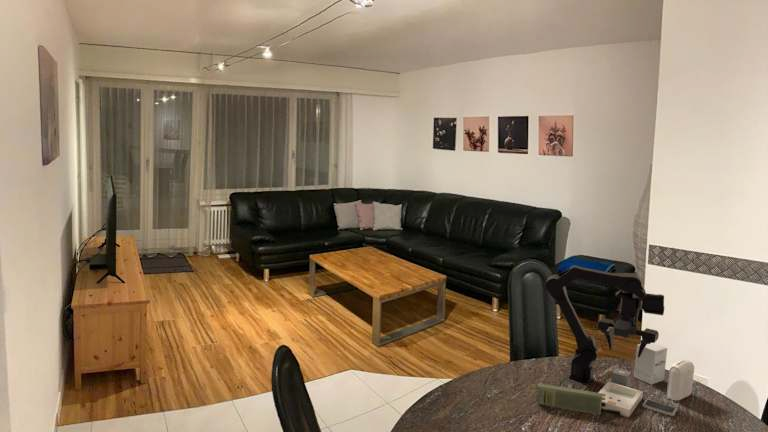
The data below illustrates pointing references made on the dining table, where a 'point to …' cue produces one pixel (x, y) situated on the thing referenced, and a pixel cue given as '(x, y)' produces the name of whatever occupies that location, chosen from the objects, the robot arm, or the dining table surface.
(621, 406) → the white grey flat device
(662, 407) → the phone slab
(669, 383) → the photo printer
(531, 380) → the dining table surface
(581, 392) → the handheld radio
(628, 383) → the block
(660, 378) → the supplement box
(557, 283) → the robot arm
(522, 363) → the dining table surface
